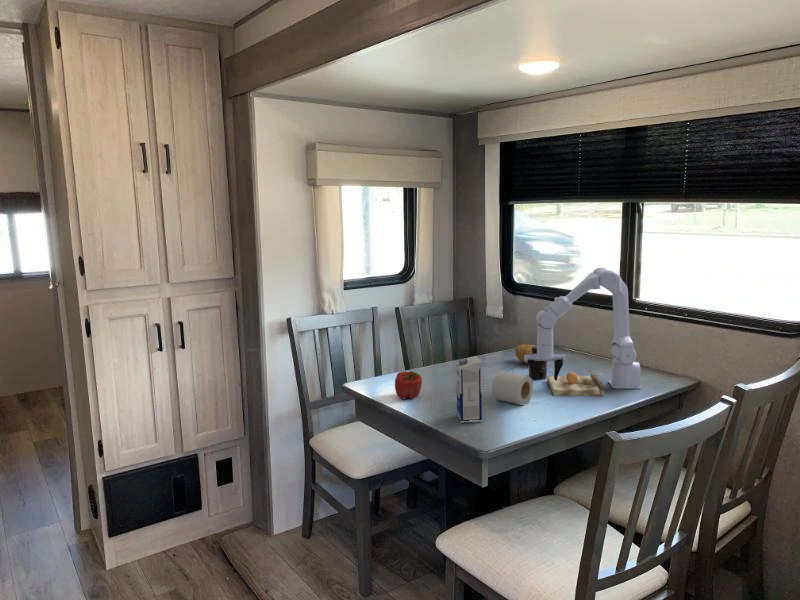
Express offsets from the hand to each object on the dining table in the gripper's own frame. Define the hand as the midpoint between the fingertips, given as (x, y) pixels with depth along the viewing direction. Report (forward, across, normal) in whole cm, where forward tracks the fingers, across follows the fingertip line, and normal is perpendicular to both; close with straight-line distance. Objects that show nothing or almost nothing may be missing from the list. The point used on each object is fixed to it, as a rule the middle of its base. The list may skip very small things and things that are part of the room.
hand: (544, 379), depth 215 cm
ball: (-1, -10, 0) cm, 10 cm away
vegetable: (+3, +49, +10) cm, 50 cm away
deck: (+3, -11, 0) cm, 11 cm away
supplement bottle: (+3, +1, -13) cm, 13 cm away
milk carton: (+3, +28, +30) cm, 41 cm away
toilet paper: (+3, +13, +14) cm, 19 cm away
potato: (+3, +2, -31) cm, 31 cm away
